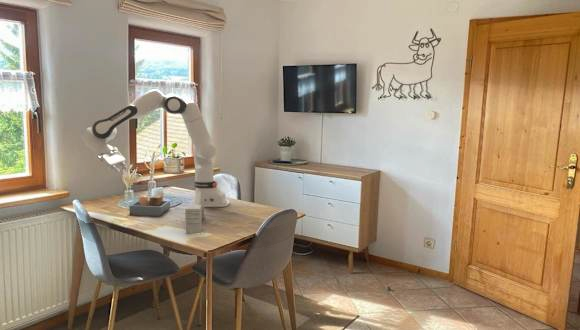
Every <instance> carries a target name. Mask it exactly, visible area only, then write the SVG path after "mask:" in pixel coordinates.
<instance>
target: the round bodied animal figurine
mask: <svg viewBox="0 0 580 330" xmlns="http://www.w3.org/2000/svg"><path fill="white" fill-rule="evenodd" d="M195 205H201V204H195ZM205 208H206V207H204V206H203V205H202V220H205V219H206V214H205V212H206V209H205Z"/></svg>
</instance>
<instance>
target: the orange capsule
mask: <svg viewBox="0 0 580 330" xmlns="http://www.w3.org/2000/svg"><path fill="white" fill-rule="evenodd" d="M138 197H139V199H138V200H139V206H149V200H150V197H149V195H147V194H143V195H139V196H138Z"/></svg>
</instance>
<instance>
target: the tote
mask: <svg viewBox="0 0 580 330" xmlns="http://www.w3.org/2000/svg"><path fill="white" fill-rule="evenodd" d="M170 209H171V201H170V200H162V206H160V207H159V206H150V199H149V206H139V199H138V200H136V201H135V202H133V203H132V204H130V205H129V215H134V216H135V215H136V216H155V217H156V216H157V217H162V216H163V215H165V214H166V213H167V212H168V211H170Z"/></svg>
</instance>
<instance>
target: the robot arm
mask: <svg viewBox="0 0 580 330" xmlns="http://www.w3.org/2000/svg"><path fill="white" fill-rule="evenodd" d="M158 109H164V110H165V111H166V112H167V113H169V114H173V115H176V114H177V115H181V117H182V119H183V122H184V124H185V127H186V130H187V133H188V136H189V137H190V139H191V142H192V143H193V145H192V146H193V147H192V151H193V154H192V155H193V162H194V170H195V171H194V175H195V176H194V186H193V188H194V197H193V201H192V205H195V204H201V205H203V206H204V208H208V207H209V208H224V207H227V206H229V205H230V204H231V203H230V200H229V199H227V197H226V196H227V195H226V192H224V191H223V190H221V189H220V188H219V187H217V186H218V181H216V180H214V165H213V159H214V158H215V156H216V154H217V148H216V146H215V143H214V142H213V139H212V137H211V135H210V132H209V130H208V129H207V126H206V123H205V121H204V117H203V115H202V112H201V110H200V107H199V106H198V105H197V103H196V102H195V101H193V100H186V101H184V100H183V98H181V97H180V96H179V95H177V94H174V93H168V94H163V93H162V92H161V90H158V89H155V88H154V89H151V90H149V91H146V92H145V93H143V94H141V95H140V96H139V97H137V98H136V99H134V100H133V101H132V102H130V103H129V104H128V105H126V106H125V107H124V108H122V109H120V110H118V111H117V112H116V113H114V114H112V115H111V116H109V117H107V118H105V119H104V118H103V119H100V120H97V121H95V122H94V123H93V124H92V127H89V126H88V127H87V128H85V129H84V130H83V131H82V133H81V137H80V138H81V140H82V142H83V143H84V144H85V146H87V147H88V148H89V149H90V150H91V151H93V153H94V154H95V156H97V159H98V162H99V163H100V164H101V165H102V166H103V168H105V169H106V170H109V169H111V171H114V172H115V173H116V174H118V173H120V172H121V169H120V168H118V167H117V166H121V167H122V169H123V170H124V171H126V170H128V166H127V165H126V163H125V162H126V158H125V156H124V155H123V154H122V153H121V152H120V151H119V150H118V148H117V147H116V146H112V145H110V144H109V142H111V141H112V140H113V139H114V138H116V136H117V134H118V129H117V127H119V126H121V125H122V124H124V123H125V122H128V121H129V120H133V119H144V118H145V117H147V116H149V115H151V114H152V113H153V112H155V111H156V110H158Z"/></svg>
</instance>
